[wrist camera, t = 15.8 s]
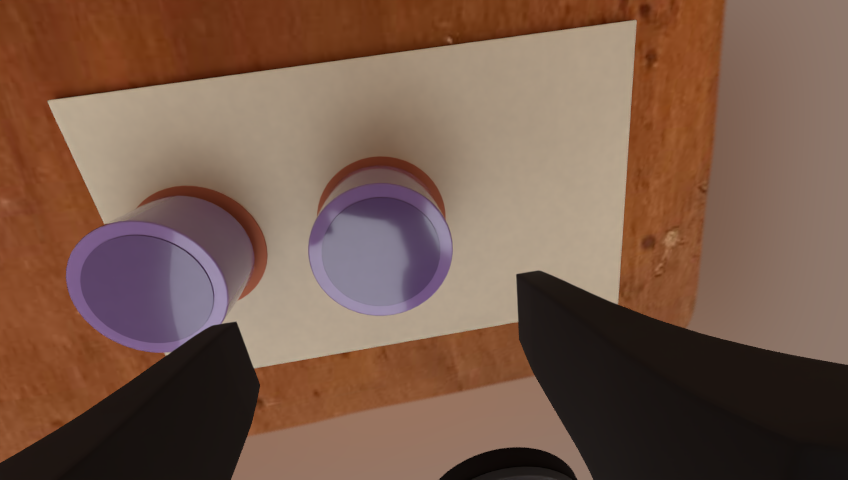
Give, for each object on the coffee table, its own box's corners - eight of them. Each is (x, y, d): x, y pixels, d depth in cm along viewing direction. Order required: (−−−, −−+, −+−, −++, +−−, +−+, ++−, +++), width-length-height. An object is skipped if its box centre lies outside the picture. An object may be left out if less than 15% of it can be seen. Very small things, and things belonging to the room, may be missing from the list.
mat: (181, 376, 21) (176, 383, 20) (54, 100, 16) (44, 100, 15) (614, 300, 22) (619, 305, 22) (631, 21, 17) (638, 19, 16)
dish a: (223, 319, 19) (186, 375, 16) (111, 263, 18) (39, 310, 14) (281, 235, 18) (255, 274, 14) (165, 166, 16) (102, 190, 13)
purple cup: (394, 291, 20) (397, 339, 16) (299, 233, 18) (279, 271, 14) (461, 207, 19) (482, 238, 15) (366, 137, 17) (362, 151, 13)
